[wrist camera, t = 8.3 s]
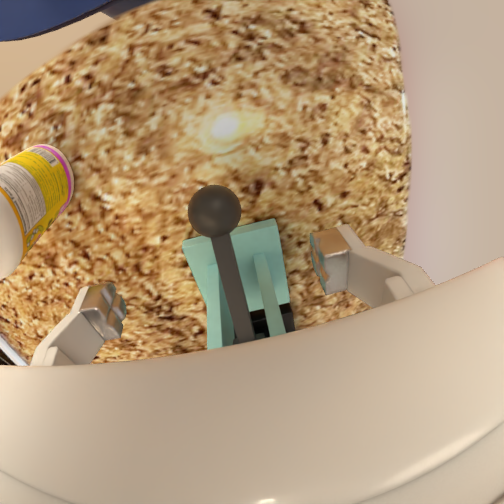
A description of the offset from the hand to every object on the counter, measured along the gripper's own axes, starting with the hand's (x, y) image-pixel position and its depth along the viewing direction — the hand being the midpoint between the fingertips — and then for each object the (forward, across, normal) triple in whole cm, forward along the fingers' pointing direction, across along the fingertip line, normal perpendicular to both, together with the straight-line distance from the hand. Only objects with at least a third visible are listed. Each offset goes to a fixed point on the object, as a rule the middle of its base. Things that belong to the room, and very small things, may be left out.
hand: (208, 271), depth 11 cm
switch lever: (+6, 0, +6) cm, 8 cm away
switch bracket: (+12, 0, +10) cm, 15 cm away
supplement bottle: (+12, +14, -4) cm, 19 cm away
